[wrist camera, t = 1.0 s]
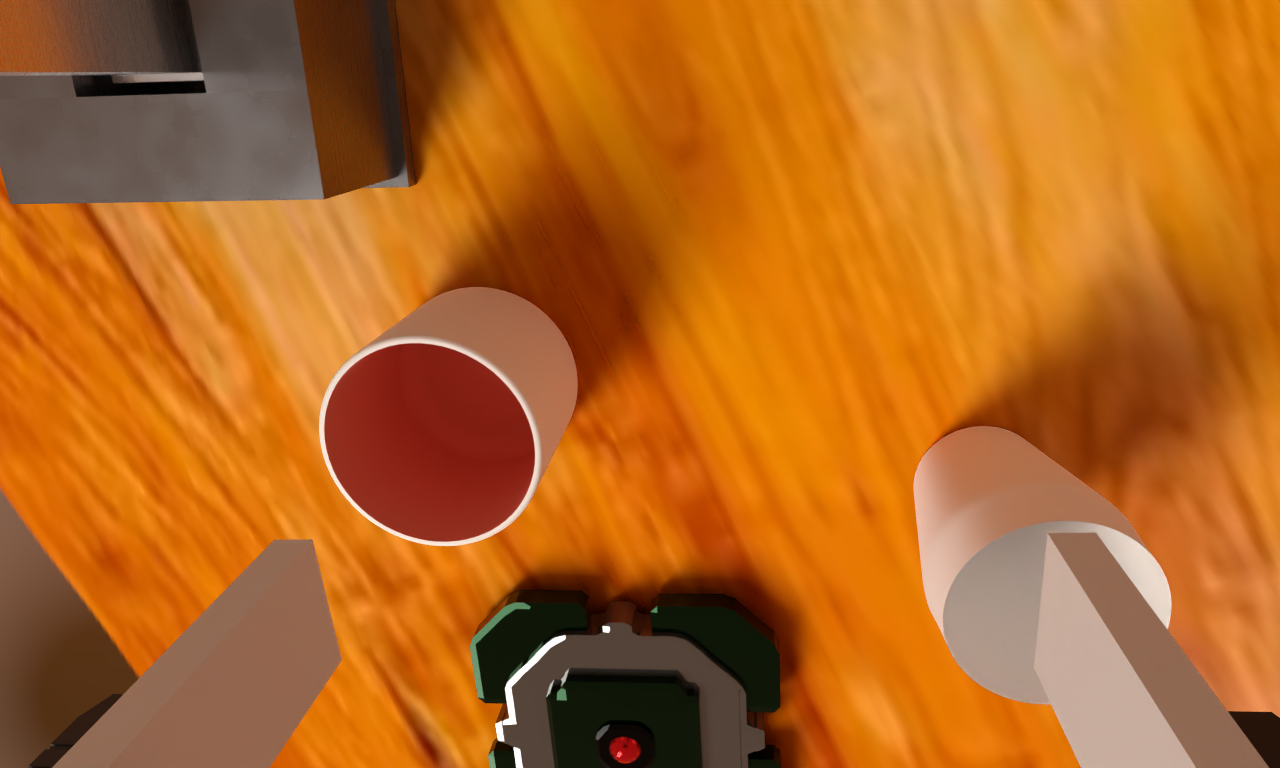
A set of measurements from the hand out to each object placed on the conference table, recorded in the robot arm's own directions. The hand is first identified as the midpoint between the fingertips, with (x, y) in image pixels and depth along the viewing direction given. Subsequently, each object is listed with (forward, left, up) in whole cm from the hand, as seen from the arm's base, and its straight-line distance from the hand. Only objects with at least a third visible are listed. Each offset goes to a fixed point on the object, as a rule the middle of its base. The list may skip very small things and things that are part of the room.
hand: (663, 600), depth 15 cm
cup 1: (+6, -12, -30) cm, 33 cm away
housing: (-12, -23, -29) cm, 39 cm away
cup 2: (+12, +14, -30) cm, 35 cm away
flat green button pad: (+28, -5, -30) cm, 41 cm away
